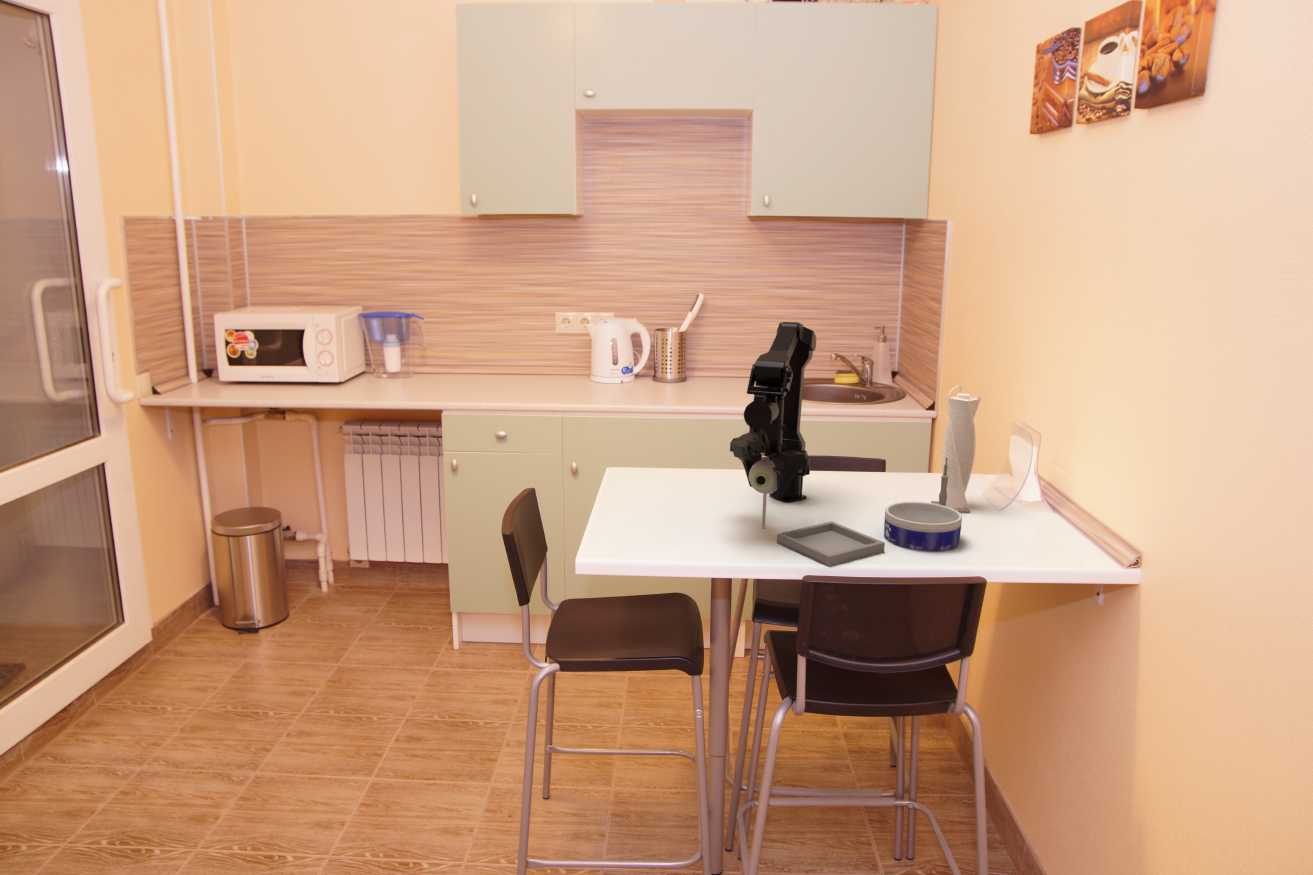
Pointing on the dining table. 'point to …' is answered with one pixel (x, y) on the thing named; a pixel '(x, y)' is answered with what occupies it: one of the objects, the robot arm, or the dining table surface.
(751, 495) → the dining table surface
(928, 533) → the dog bowl
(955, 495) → the skyscraper
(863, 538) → the tray
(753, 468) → the lollipop
